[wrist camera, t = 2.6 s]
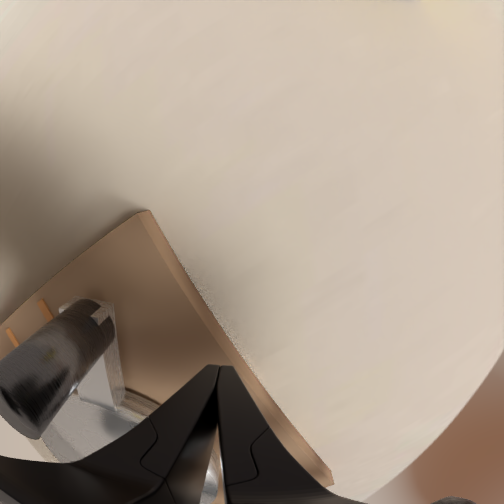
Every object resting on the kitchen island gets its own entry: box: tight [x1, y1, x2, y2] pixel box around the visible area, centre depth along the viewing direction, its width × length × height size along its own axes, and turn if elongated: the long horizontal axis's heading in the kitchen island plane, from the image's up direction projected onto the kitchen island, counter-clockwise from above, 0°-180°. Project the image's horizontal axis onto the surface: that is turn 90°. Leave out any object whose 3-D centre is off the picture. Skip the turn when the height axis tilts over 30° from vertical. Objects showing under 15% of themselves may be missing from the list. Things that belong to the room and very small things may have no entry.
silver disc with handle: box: [0, 296, 220, 504], centre depth 9 cm, size 17×12×7 cm
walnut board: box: [0, 210, 334, 504], centre depth 14 cm, size 22×18×2 cm
